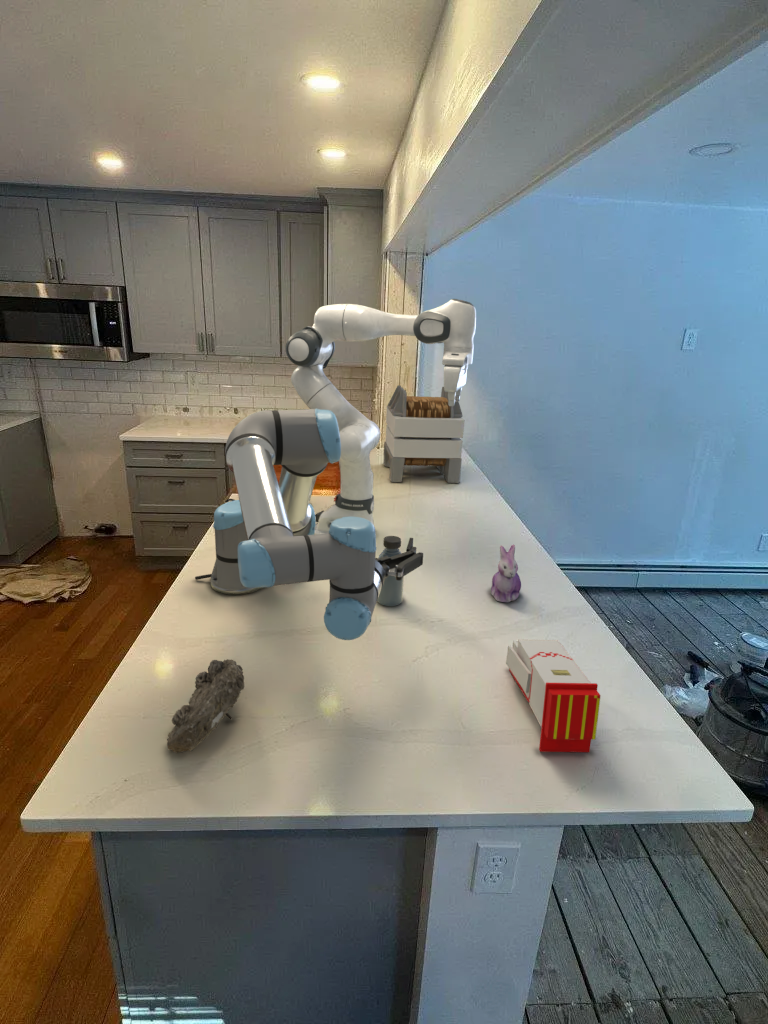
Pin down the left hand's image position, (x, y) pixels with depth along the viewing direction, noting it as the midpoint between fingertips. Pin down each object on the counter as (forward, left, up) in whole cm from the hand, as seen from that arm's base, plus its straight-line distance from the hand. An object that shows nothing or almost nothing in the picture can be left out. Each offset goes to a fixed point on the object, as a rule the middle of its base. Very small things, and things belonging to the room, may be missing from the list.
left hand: (380, 540), depth 126 cm
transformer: (-5, +150, -26) cm, 152 cm away
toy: (+37, -15, -26) cm, 48 cm away
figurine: (+32, +31, -26) cm, 51 cm away
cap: (0, +21, -8) cm, 23 cm away
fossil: (-26, -32, -26) cm, 49 cm away
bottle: (0, +21, -26) cm, 34 cm away
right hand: (+12, +62, +22) cm, 66 cm away
